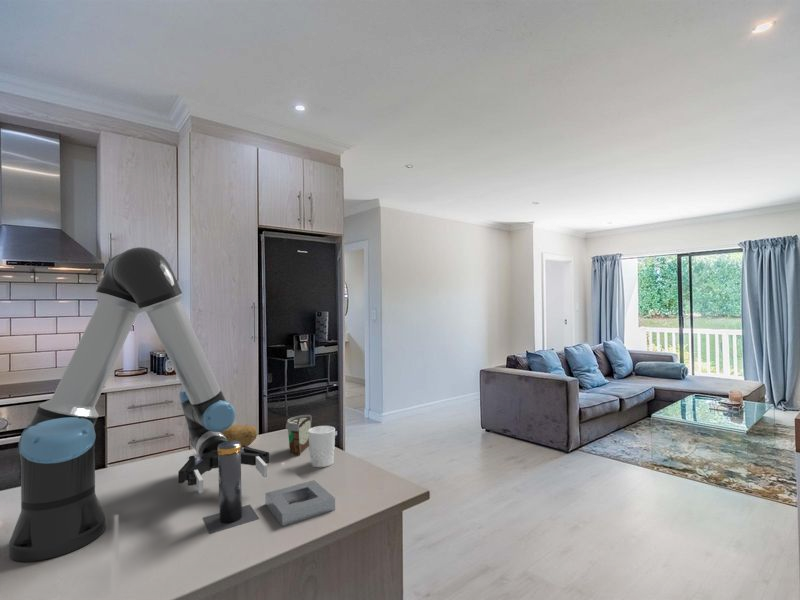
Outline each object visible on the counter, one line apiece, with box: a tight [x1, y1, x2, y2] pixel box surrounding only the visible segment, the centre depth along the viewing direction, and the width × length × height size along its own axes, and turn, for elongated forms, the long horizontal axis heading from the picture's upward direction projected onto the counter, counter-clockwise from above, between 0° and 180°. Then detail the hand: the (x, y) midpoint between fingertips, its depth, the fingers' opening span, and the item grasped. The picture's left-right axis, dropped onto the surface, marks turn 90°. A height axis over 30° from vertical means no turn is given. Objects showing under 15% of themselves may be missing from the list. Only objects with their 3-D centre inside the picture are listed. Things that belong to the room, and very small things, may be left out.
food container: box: [285, 414, 313, 456], centre depth 135 cm, size 12×6×10 cm, turn 172°
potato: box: [221, 424, 258, 449], centre depth 137 cm, size 10×14×8 cm
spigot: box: [218, 441, 243, 524], centre depth 90 cm, size 5×5×16 cm
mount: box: [202, 504, 260, 535], centre depth 90 cm, size 10×8×1 cm
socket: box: [264, 479, 336, 527], centre depth 94 cm, size 12×12×4 cm
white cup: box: [308, 425, 336, 468], centre depth 123 cm, size 8×8×10 cm
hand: (234, 478), depth 91 cm, fingers open, 13 cm apart
